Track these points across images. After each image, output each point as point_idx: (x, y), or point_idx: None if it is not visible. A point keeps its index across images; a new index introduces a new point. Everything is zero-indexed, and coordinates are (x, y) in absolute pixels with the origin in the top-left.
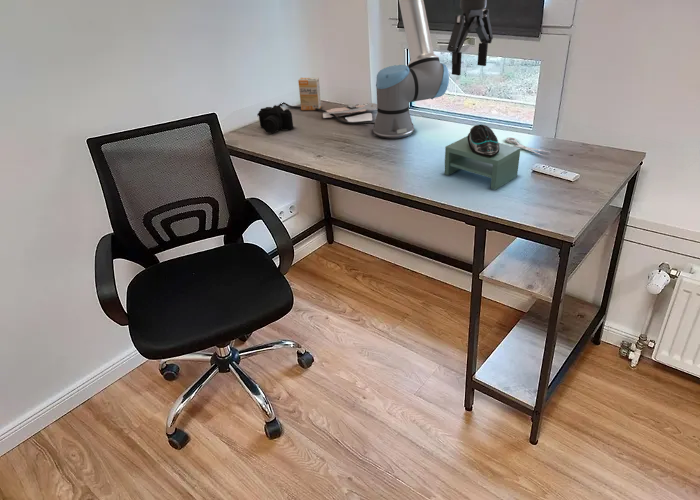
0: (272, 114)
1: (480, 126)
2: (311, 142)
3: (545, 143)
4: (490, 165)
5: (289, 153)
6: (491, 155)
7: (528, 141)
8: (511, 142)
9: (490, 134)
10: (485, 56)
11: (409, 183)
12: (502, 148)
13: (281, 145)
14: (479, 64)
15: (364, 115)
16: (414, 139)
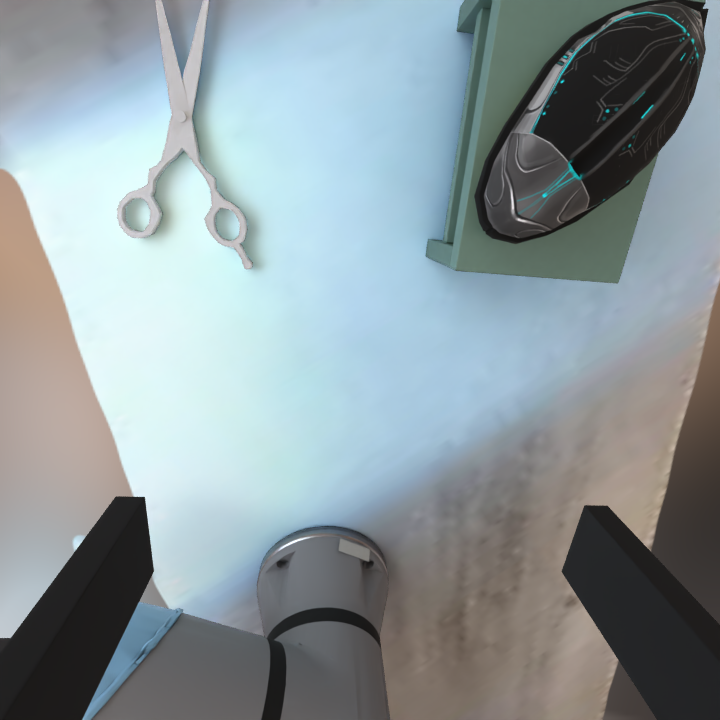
0: None
1: (573, 166)
2: (499, 666)
3: (52, 61)
4: None
5: (582, 655)
6: (700, 9)
7: (87, 147)
8: (157, 204)
9: (654, 53)
10: (82, 591)
11: (652, 318)
12: (554, 25)
13: (546, 695)
14: (147, 559)
15: None
16: (339, 499)
